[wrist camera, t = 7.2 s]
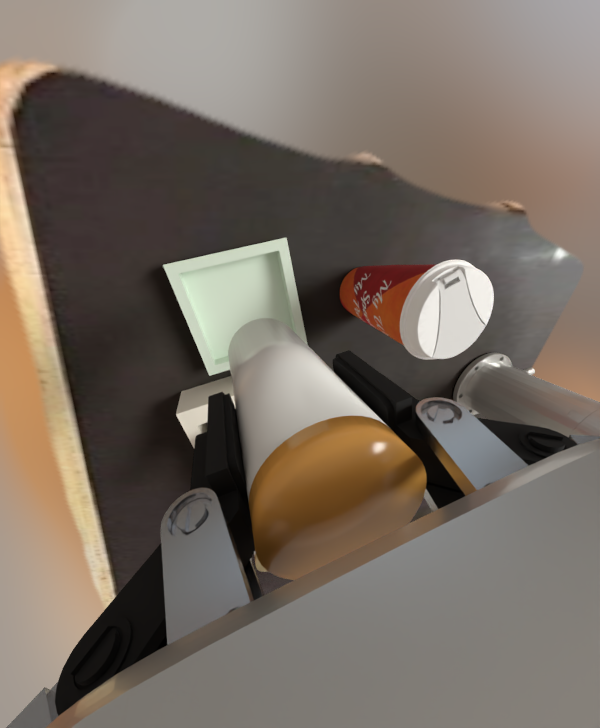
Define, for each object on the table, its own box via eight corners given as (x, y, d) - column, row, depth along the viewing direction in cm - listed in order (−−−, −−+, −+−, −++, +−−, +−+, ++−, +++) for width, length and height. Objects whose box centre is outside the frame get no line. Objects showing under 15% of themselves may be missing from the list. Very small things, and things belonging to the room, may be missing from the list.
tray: (280, 238, 27) (286, 237, 25) (301, 339, 33) (307, 345, 31) (167, 263, 25) (162, 265, 23) (209, 367, 31) (209, 375, 29)
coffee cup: (321, 275, 30) (401, 294, 17) (378, 244, 31) (498, 239, 18) (343, 333, 34) (422, 384, 21) (393, 304, 35) (500, 336, 22)
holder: (247, 370, 32) (253, 389, 28) (290, 497, 44) (298, 524, 40) (181, 391, 31) (175, 414, 26) (243, 516, 43) (246, 547, 38)
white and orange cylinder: (291, 309, 15) (430, 414, 5) (304, 372, 17) (423, 531, 7) (217, 330, 14) (225, 497, 5) (241, 393, 16) (280, 603, 7)
